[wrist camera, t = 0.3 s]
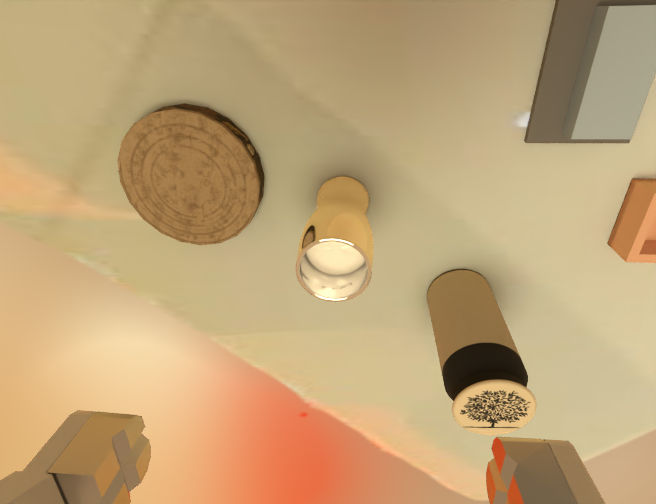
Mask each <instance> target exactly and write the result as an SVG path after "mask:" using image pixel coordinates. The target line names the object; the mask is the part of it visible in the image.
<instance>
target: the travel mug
mask: <svg viewBox="0 0 656 504" xmlns="http://www.w3.org/2000/svg"><path fill="white" fill-rule="evenodd" d="M427 301H428V306H429V311H430V316H431V321H432V326H433V331H434V336H435V341H436V346H437V351H438V356H439V361H440V366H441V371H442V376H443V381H444V386H445V390H446V392H447V394H448V395H449V397H450V398H451V399H452V400H453V401H454V402H453V406H452V412H453V416H454V418H455V420H456V421H457V422H458V424H459V425H461V426H462V427H463V428H465V429H467V430H469V431H471V432H474V433H478V434H484V435H498V434H504V433H508V432H512V431H514V430H517V429H519V428H521V427H522V426H524V425H525V424H526V423H528V422H529V421H530V420H531V418H532V417H533V416H534V414H535V411H536V400H535V397H534V395H533V394H532V393H531V391H530V390H528V389H527V388H526V386H527V382H528V375H527V372H526V369H525V367H524V365H523V362H522V360H521V358H520V355H519V353H518V351H517V349H516V346H515V344H514V342H513V339H512V337H511V335H510V332H509V330H508V328H507V325H506V323H505V321H504V318H503V316H502V314H501V311H500V309H499V307H498V305H497V302H496V300H495V298H494V295H493V293H492V291H491V288H490V286H489V284H488V282H487V281H486V279H485V278H484V277H482V276H481V275H480V274H478V273H475V272H472V271H468V270H456V271H451V272H448V273H445V274H443V275H441V276H440V277H438V278H437V279H436V280H435V281H434V282H433V283H432V284H431V286H430V288H429V290H428V293H427Z"/></svg>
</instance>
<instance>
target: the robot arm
mask: <svg viewBox="0 0 656 504" xmlns="http://www.w3.org/2000/svg"><path fill="white" fill-rule="evenodd" d="M144 427H145V425H144V422H143V419H142V416H137V415H129V414H118V413H106V412H93V411H80V410H79V411H78V410H77V411H76V412H74V413H72V414H71V415H70V416H69V417H68V418H67V419H66V420H65V421H64V423H63V424H62V425H61V426H60V427H59V428H58V430H57V431H56V432H55V433H54V435H53V436H52V437H51V438H50V439H49V440H48V442H47V443H46V444H45V445H44V446H43V447H42V449H41V450H40V451H39V452H38V453H37V455H36V456H35V457H34V458H33V459H32V461H31V462H30V463H29V464H28V465H27V467H26V468H25V469H24V470H23V471H22V472H18V471H16V472H14V473H12V474H11V475H9V476H7V477H5V478H4V479H2V480H0V504H130V502H131V500H130V493H129V492H130V491H131V490H132V489H134V488H135V487H136V486H137V485H139V484H140V483H141V482H142V480H143V478H144V476H145V473H146V472H147V469H148V465H149V461H150V458H151V447H150V443H149V440H148V439H147V438H146V437H145V436H144V435H143V434H142V433H141V432H142V431H143V429H144ZM491 449H492V452H493V455H494V459H492V460H491V461H490V462H488V466H487V472H486V486H487V492H488V498H489V502H490V504H605V502H604V500H603V498H602V497H601V495H600V493H599V491H598V489H597V488H596V486H595V484H594V482H593V480H592V479H591V477H590V475H589V473H588V471H587V470H586V468H585V466H584V464H583V462H582V461H581V459H580V457H579V455H578V453H577V451H576V450H575V448H574V446H573V445H572V444H571V443H570V442H569V441H562V440H545V439H544V440H542V439H532V438H511V437H496V438H495V439H494V440H493V444H492V448H491Z"/></svg>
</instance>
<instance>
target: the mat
mask: <svg viewBox="0 0 656 504" xmlns="http://www.w3.org/2000/svg"><path fill="white" fill-rule="evenodd" d="M624 5H656V0H556V4H555V9H554V13H553V18H552V22H551V26H550V31H549V35H548V40H547V44H546V48H545V53H544V57H543V62H542V66H541V70H540V75H539V79H538V84H537V88H536V92H535V97H534V101H533V106H532V110H531V114H530V119H529V123H528V128H527V132H526V136H525V142H526V143H629V142H630V139H570V138H568V137H567V136H565V135H564V134H562V131H563V127H564V124H565V120H566V116H567V113H568V109H569V105H570V102H571V98H572V94H573V91H574V87H575V83H576V79H577V76H578V72H579V68H580V65H581V61H582V57H583V54H584V50H585V46H586V43H587V39H588V35H589V32H590V28H591V24H592V21H593V17H594V13H595V10H596V6H624Z"/></svg>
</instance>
